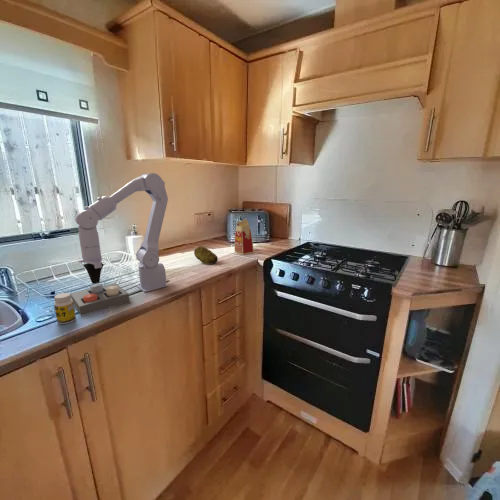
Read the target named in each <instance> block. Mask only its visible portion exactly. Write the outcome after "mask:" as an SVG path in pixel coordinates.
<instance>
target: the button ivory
mask: <svg viewBox="0 0 500 500" xmlns="http://www.w3.org/2000/svg"><path fill="white" fill-rule="evenodd" d="M106 295H107V297H111V296H115V295H119V288H118V286H110V287H107V288H106Z"/></svg>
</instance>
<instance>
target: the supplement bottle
mask: <svg viewBox="0 0 500 500" xmlns="http://www.w3.org/2000/svg"><path fill="white" fill-rule="evenodd" d="M53 307H54V310H55V317H56V322H57V323H58V324H59V325H67V324H70V323H71V324H72V323H73V322H74V321H75V320H76V319H77V318H76V310H75V305H74V304H73V300H72V299H71V294H70V292H61V293H59V294H56V295H54V303H53Z"/></svg>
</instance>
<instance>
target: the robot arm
mask: <svg viewBox="0 0 500 500" xmlns="http://www.w3.org/2000/svg"><path fill="white" fill-rule="evenodd" d="M165 185H166V182H165V181H164V179H163V178H162V177H161V176H160V175H159V174H158V173H155V172H151V173H147V172H146V173H141V175H139V176H137V177H135V178H134V179H132V180H130V181H129V182H127V183H126V184H125V185H123V186H122V187H121V188H119V189H117V191H115V192H114V193H113V194H111V195H110V196H106V195H102V196H98V197H96V201H94V202H93V203H91V204H90V205H89V206H88V205H86V206H85V207H84V209H85V210H83V209H82V210H80V211H78V212H77V213H76V215H75V222H76V224H77V225H78V226H77V227H78V228H77V231H78V240H79V245H80V252H81V256H82V257H81V258H80V259H78V262H79V263H81V264H82V263H83V264H82V266H83V267H84V269H85V270H86V272H87V275H88V276H89V278H90V282H91V284H92V285H94V284H100V282H101V281H100V280H101V274H102V273H101V272H102V269H103V267H104V263H102V261H103V256H102V252H101V245H100V244H101V243H100V237H99V232H98V228H97V226H98V224H99V221H102V220H103V219H105V218H106V217H107V216H109V215H110V214H112V213H113V212H115V211H117V210H116V209H117V206H118V205H117V204H119V203H121V202H122V201H123V200H125V199H127V198H128V197H129V196H131V195H133V194H134V193H136V192H144V191H145V192H146V193H147V194H148V196H149V198H150V199H151V201H152V203H151V209H150V212H149V216H148V220H147V226H146V230H145V234H144V239H143V241H141V243H140V247H139V248H138V249H137V251H136V253H135V258H136V259H137V261H139V263H138V266H137V267H138V273H139V274H138V275H139V283H140V284H138V285H136V287H137V288H138V289H139V290H141V291H143V293H146V292H150V291H154V290H158V289H161V288H165V287H168V284H167V276H166V275H167V273H166V267H165V266H164V264H163V263H159V262H160V255H159V253H160V249H159V239H160V237H161V236H160V234H161V230H162V227H163V223H164V218H165V213H166V211H167V206H168V202H169V197H168V194H167V191H166V186H165Z"/></svg>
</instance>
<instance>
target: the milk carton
mask: <svg viewBox="0 0 500 500" xmlns="http://www.w3.org/2000/svg"><path fill="white" fill-rule="evenodd" d="M250 227H251V226H250V224H249V221H248V218H247V217H246V218H245V219H243V220H239V221H237V222H236V227H235V234H234V235H235V236H234V252H235V253H236V254H238V255H247V254H249V255H250V254H254V241H253V236H252V231H251V228H250Z"/></svg>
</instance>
